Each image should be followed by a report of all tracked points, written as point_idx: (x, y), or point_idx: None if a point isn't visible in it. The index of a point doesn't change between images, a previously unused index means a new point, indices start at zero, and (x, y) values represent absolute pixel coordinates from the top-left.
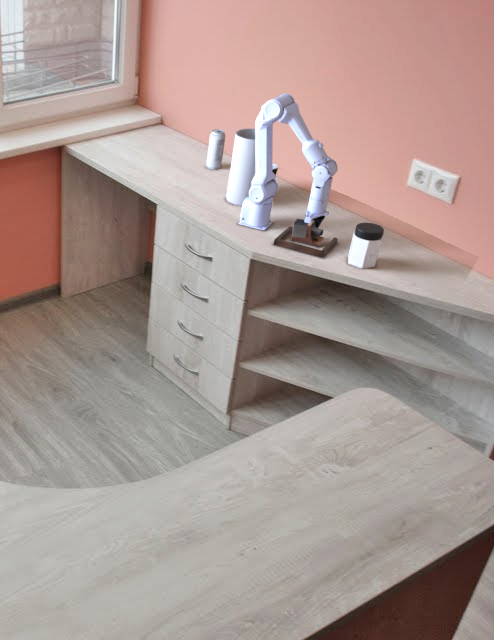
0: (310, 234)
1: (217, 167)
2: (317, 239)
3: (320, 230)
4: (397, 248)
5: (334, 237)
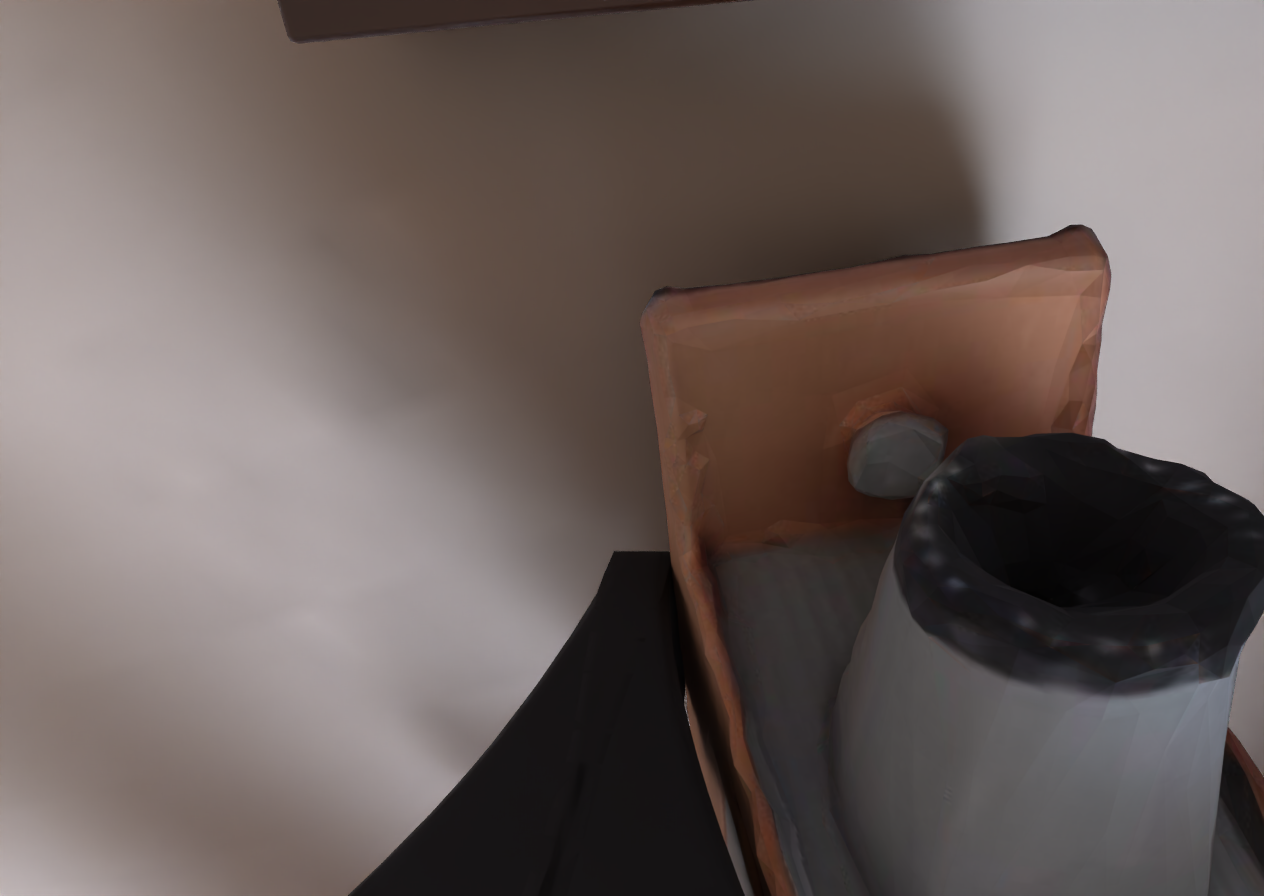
0: (1249, 764)
1: None
2: (944, 427)
3: (1200, 707)
4: None
5: (294, 34)
